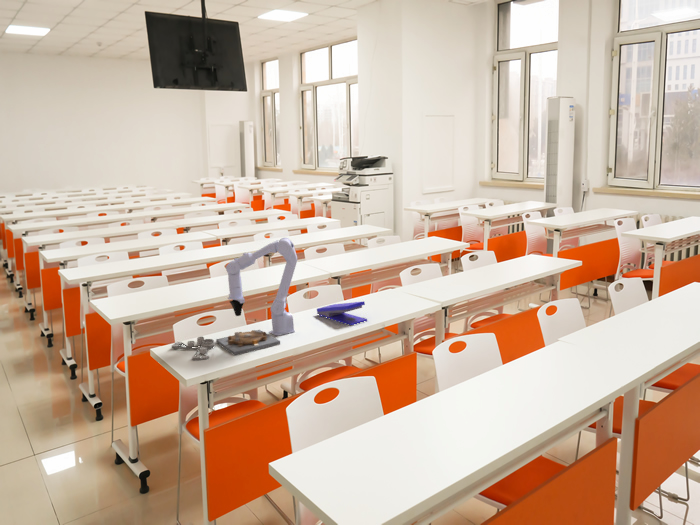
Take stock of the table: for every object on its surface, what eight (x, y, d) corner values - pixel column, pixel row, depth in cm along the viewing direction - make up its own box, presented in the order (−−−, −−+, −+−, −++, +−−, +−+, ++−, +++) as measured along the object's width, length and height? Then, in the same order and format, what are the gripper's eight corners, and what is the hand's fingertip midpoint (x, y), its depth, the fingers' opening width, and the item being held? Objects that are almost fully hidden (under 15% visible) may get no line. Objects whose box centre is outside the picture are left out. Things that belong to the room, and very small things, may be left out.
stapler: (350, 326, 264) (349, 306, 263) (315, 316, 286) (314, 297, 284) (368, 321, 272) (367, 301, 270) (333, 311, 293) (332, 293, 291)
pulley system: (199, 341, 258) (168, 348, 248) (199, 331, 257) (167, 338, 247) (230, 356, 238) (197, 364, 228) (229, 346, 237) (196, 353, 227)
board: (259, 332, 262) (259, 328, 262) (280, 344, 244) (279, 339, 244) (216, 342, 251) (216, 338, 251) (234, 355, 233) (234, 350, 233)
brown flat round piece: (236, 333, 257) (235, 323, 256) (272, 333, 254) (271, 322, 253) (221, 346, 240) (220, 335, 240) (259, 346, 237) (258, 335, 236)
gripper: (221, 285, 260) (224, 314, 263) (233, 291, 248) (235, 320, 250) (235, 283, 264) (238, 311, 266) (247, 288, 252) (250, 317, 254)
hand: (238, 315), depth 259 cm, fingers closed
